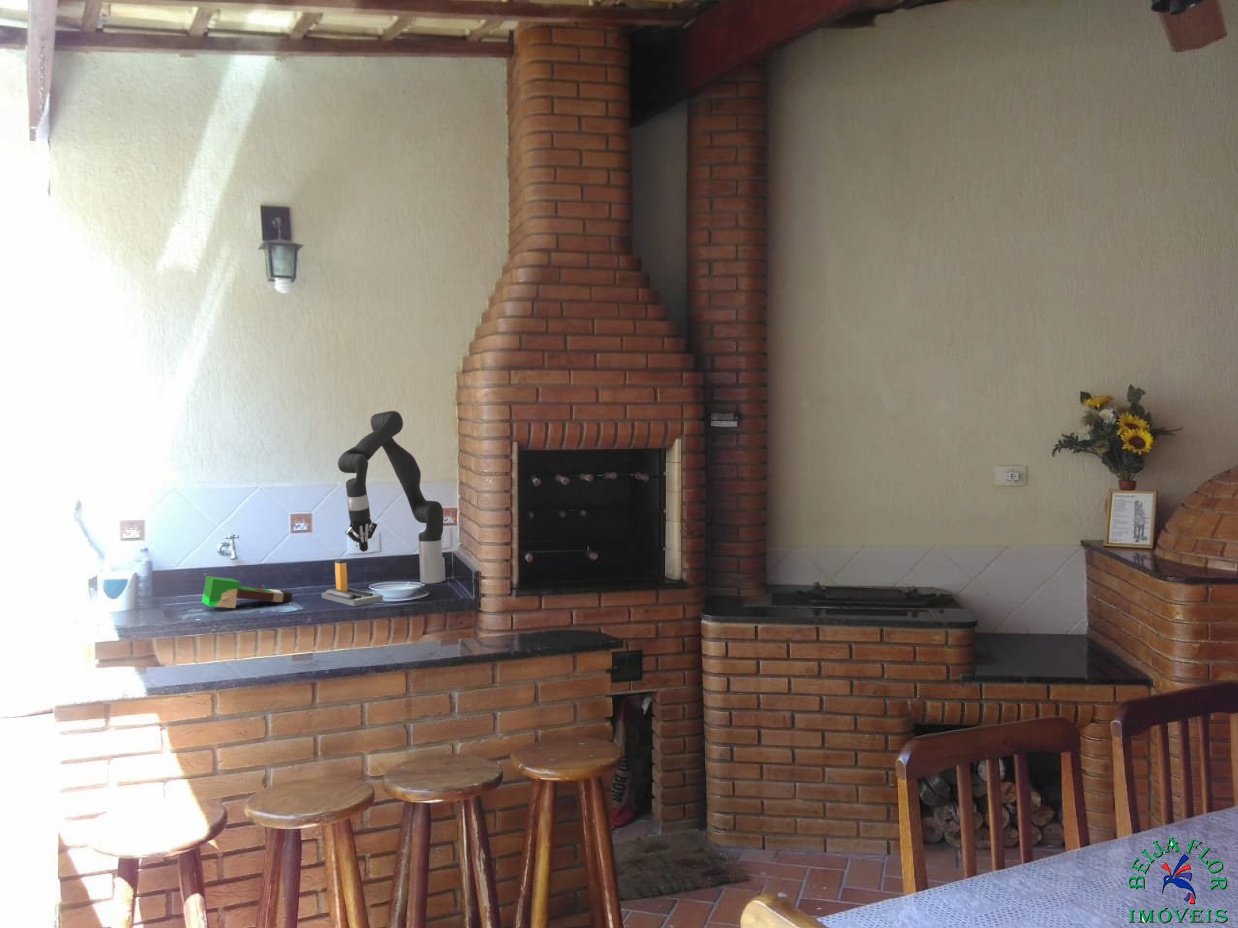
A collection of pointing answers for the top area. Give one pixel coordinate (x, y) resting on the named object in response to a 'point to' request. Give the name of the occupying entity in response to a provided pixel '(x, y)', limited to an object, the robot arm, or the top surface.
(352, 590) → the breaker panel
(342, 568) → the lever
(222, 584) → the toy
